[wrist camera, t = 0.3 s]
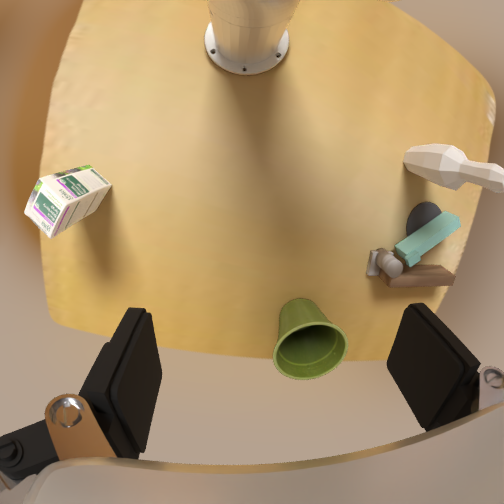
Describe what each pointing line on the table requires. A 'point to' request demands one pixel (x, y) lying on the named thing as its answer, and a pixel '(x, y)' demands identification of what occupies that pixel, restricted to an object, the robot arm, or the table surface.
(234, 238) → the table surface
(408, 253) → the bar
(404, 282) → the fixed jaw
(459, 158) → the white bottle
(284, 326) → the plant pot
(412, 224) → the dark grey disc
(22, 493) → the robot arm
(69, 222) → the syrup box
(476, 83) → the table surface
